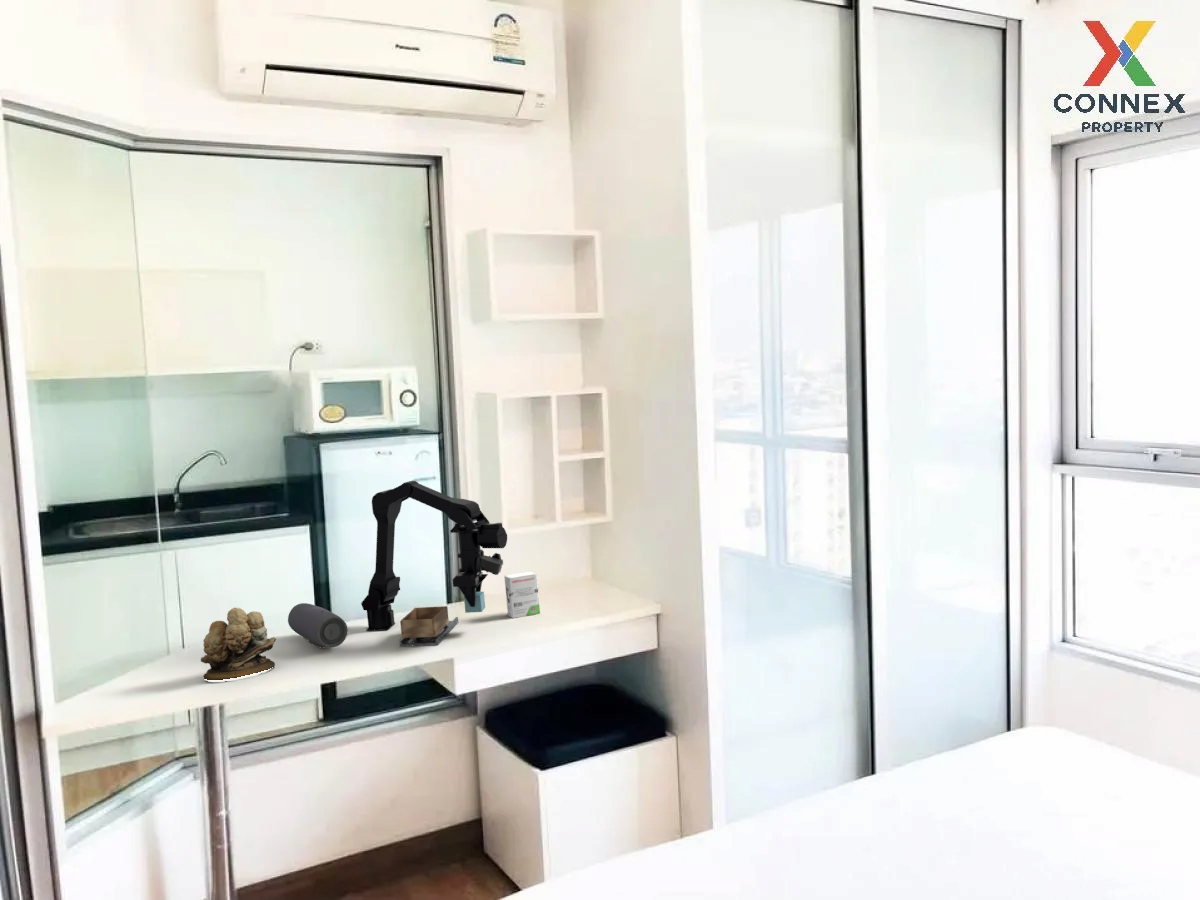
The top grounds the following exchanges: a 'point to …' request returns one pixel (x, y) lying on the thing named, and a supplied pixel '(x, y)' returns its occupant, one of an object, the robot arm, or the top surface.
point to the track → (428, 640)
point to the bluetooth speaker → (317, 625)
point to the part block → (476, 603)
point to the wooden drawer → (424, 622)
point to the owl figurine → (237, 646)
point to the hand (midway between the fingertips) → (474, 604)
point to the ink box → (522, 594)
